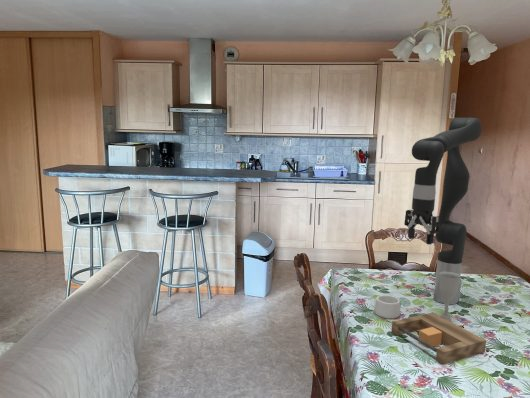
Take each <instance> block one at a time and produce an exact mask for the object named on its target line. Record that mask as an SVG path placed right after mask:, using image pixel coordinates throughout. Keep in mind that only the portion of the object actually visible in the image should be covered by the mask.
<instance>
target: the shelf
mask: <svg viewBox="0 0 530 398" xmlns="http://www.w3.org/2000/svg"><path fill="white" fill-rule="evenodd" d="M452 322H453V321H452ZM452 322H450V321H448V320H446V319H444V318H442V317H440V315H438V314H436V313H434V312H428V313H424V314H419V315H416V316H411V317H407V318H401V319H397V320H393V321H391V330H390V331H391V333H392V334H394V336H400V335H403V334H405V335H407V336H409V337H410V338H412V339H414V340H415V341H417V342H420V343H422V344H423V345H425V346H426V347H428V348H427V349H430V350H431V351H433V352H434V353H435V361H436V362H437V363H439V364H441V365H446V364H450V363H452V362H455V361H459V360H463V359H467V358H469V357H472V356H475V355H479V354H482V353H485V352H486V345H487V339H485V338H484V337H481V336H479V335H477V334H475V333H473V332H471V331H469V330H467V329H465V328H463V327H462V326H460V325H457V324H455V323H454V322H453V323H452ZM430 327H434V328H436V329H437V330H439V331H441V332H442V339H441V343H442V344H444V346H441V347H436V346H432V345H430V344H429V343H427V342H425V341H424V340H422V339H420V338H419V336H417V335H415V334H414V333H413V332H415V331H416V332H417V331H419V330H422V329H426V328H430ZM420 343H419V344H420ZM422 344H421V345H422ZM423 345H422V346H423ZM425 346H424V347H425ZM426 347H425V348H426Z"/></svg>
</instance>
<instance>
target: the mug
mask: <svg viewBox="0 0 530 398" xmlns="http://www.w3.org/2000/svg"><path fill="white" fill-rule="evenodd" d="M373 310H374V311H373V312H374V313H375V315H376V316H378V317H380V318H383V319H389V320H390V319H392V320H393V319H397V318H398V317H400V316H401V301H400V299H399V298H398V297H396V296H393V295H390V294H381V295H377V296H376V298H375V303H374V309H373Z"/></svg>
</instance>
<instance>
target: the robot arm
mask: <svg viewBox="0 0 530 398" xmlns="http://www.w3.org/2000/svg"><path fill="white" fill-rule="evenodd" d="M482 125H483V124H482V122H481V120H480V119H479V118H477V117H454V118H452V119H451V120H450V123H449V126H448V130H445V131H442V132H440V133H438V134H435V135H434V136H431V137H426V138H421V139H419V140H417V141H416V142H415V143H413V145H412V147H411V156H412V157H413V158H414V159H415V160H417V161H423V162H425V161H426V162H428V164H427V166H422V167H421V166H420V167H418V168H416V169H415V175H414V185H413V189H412V200H411V209H407V210H405V215H404V222H403V223H404V226H406V227H407V228H408V230H407V231H408V232H407V235H408V239H411V240H412V239H414V238H415V235H416V234H415V233H416V232H415V231H416V226H417V225H420V226H421V227H423V228H424V229H425V230H426V240H425V243H426V245H432V244H433V243H434V238H435V239H436V241H437V242H438V243H441V244H445V245H449V246H452V248H451V249H449V250H447V249H446V250H441V251H439V252H438V254H437V260H436V261H437V262H436V273H435V281H434V291H433V300H434V301H436V302H438V303H441V304H444V305H445V302H446V299H445V298H444V297H443V295H442V293H441V290H440V274H439V273H440V272H453V273H456V274H459V275H460V276H461V275H462V274H461V273H462V266H463V265H462V263H463V257H464V254H465V253H464V252H465V251H464V250H465V244H466V239H467V238H466V237H467V226H466V225H465V224H463V223H458V222H453V221H450V217H451V214H452V212H453V210H454V208H455V207H456V206H457V205H458V204H459V203H460V201H461V200H462V199H463V198H464V197H465V196H466V194H467V193H468V189H469V182H470V172H469V170H468V167H467V165H466V163H465V161H464V160H463V158H462V155H461V152H460V151H461V150H460V145H463V144H465V143H469V142H473V141H477V140H478V139H479V138H480V136H481V134H482V128H483V126H482ZM446 152H447V155H446V164H445V171H444V177H443V183H442V184H443V185H442V194H441V202H440V209H439V215H438V216H437V215H436V216H435V215H433V212H434V211H435V203H436V202H435V201H436V194H437V192H436V188H437V187H436V184H437V174H438V171H439V168H440V165H441V162H442V161H443V157H444V155H445V153H446ZM434 235H435V236H434ZM461 288H462V279H461V278H460V279H459V283H458V290H457V292H456V294H455V295H454V296H453V298H452V299H449V305H456V304H457V303H458V302H460V298H461Z"/></svg>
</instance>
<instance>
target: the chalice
mask: <svg viewBox="0 0 530 398" xmlns="http://www.w3.org/2000/svg"><path fill="white" fill-rule="evenodd" d="M439 274H440V290H441V293H442V295H443V297H444V298H445V299H446V302H445V304H444V305H445V306H444V308H443V309H444V312H443V313H441V314H440V315H439V316H440V317H442V318H444V319H446V320H448V321H450V322H452V323H454V322H453V320H452V316H451V315H450V314H449V313H448V311H449V310H450V308H449V305H450V304H449V299H452V298H453V296H454V295H455V294H456V292H457V290H458V283H459V279H461V277H462V276H461V275H459V274H456V273H453V272H440V273H439Z"/></svg>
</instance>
